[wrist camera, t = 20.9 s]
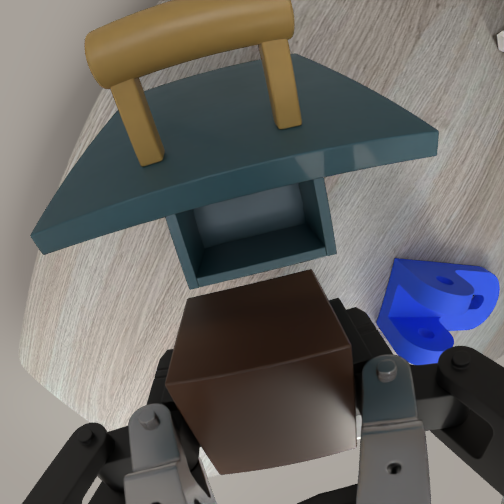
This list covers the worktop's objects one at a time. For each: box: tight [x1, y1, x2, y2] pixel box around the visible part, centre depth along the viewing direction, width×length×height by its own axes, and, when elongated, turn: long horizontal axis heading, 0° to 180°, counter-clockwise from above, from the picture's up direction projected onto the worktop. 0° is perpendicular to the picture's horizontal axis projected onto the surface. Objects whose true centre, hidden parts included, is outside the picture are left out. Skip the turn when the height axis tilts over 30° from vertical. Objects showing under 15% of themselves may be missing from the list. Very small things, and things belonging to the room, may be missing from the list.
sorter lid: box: [31, 0, 439, 255], centre depth 12 cm, size 15×12×5 cm
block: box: [165, 269, 357, 475], centre depth 10 cm, size 4×4×4 cm
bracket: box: [376, 258, 499, 365], centre depth 31 cm, size 18×8×9 cm, turn 84°
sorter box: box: [165, 177, 337, 290], centre depth 26 cm, size 15×12×8 cm
